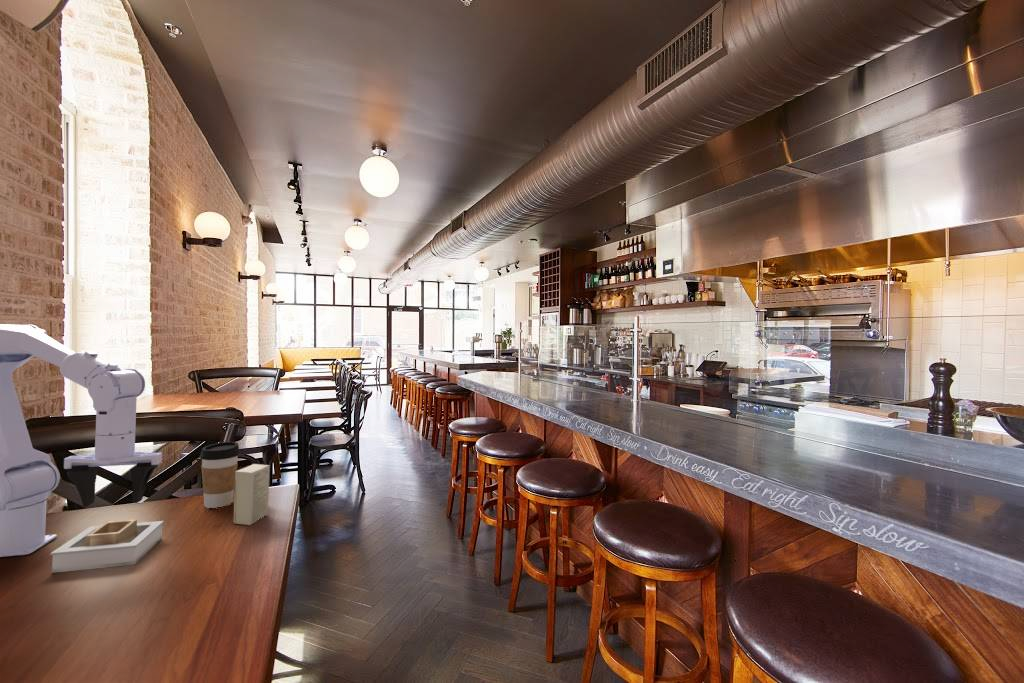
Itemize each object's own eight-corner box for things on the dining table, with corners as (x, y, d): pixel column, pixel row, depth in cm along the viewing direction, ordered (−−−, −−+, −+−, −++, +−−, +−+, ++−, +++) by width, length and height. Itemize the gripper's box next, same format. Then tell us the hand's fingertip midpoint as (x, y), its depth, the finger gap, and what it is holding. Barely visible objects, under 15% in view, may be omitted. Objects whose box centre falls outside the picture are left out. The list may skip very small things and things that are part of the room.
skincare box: (252, 513, 106) (254, 463, 106) (269, 515, 105) (270, 464, 105) (232, 524, 99) (234, 470, 99) (249, 526, 99) (251, 472, 99)
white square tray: (49, 573, 77) (50, 553, 77) (89, 544, 88) (90, 526, 88) (135, 564, 81) (136, 545, 81) (163, 537, 92) (163, 520, 92)
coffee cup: (246, 501, 113) (248, 443, 113) (214, 513, 105) (216, 450, 105) (222, 496, 116) (224, 440, 116) (189, 507, 108) (191, 446, 108)
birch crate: (85, 560, 81) (86, 535, 81) (105, 544, 87) (106, 521, 87) (118, 557, 82) (119, 533, 82) (136, 541, 88) (137, 519, 88)
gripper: (53, 438, 78) (50, 514, 78) (151, 435, 83) (148, 507, 83) (78, 430, 85) (76, 500, 85) (167, 428, 89) (165, 494, 89)
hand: (113, 503), depth 84 cm, fingers open, 7 cm apart
